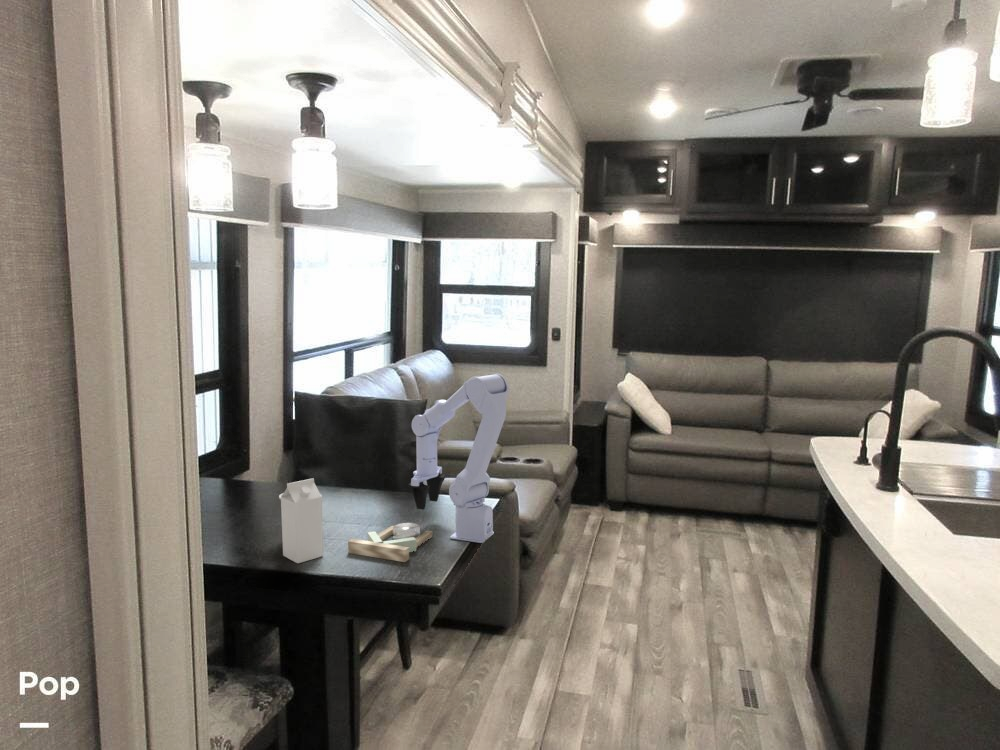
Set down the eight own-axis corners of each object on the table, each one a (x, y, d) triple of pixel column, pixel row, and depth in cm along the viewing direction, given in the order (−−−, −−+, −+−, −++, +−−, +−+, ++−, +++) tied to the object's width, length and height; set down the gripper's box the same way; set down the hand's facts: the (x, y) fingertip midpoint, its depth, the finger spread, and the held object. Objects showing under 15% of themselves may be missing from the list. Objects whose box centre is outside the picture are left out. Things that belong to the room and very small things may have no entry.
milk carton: (282, 556, 173) (279, 480, 171) (309, 548, 178) (306, 475, 176) (297, 564, 168) (294, 486, 166) (323, 556, 173) (321, 481, 171)
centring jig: (438, 537, 186) (438, 526, 186) (405, 562, 170) (404, 550, 169) (386, 529, 192) (385, 519, 192) (348, 552, 176) (348, 541, 175)
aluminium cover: (424, 535, 188) (424, 524, 188) (411, 544, 182) (411, 533, 182) (401, 532, 191) (401, 521, 191) (388, 540, 184) (387, 529, 184)
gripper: (426, 450, 203) (426, 495, 205) (401, 461, 190) (401, 510, 192) (448, 452, 201) (448, 498, 202) (424, 464, 187) (424, 513, 189)
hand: (427, 504), depth 197 cm, fingers open, 7 cm apart
